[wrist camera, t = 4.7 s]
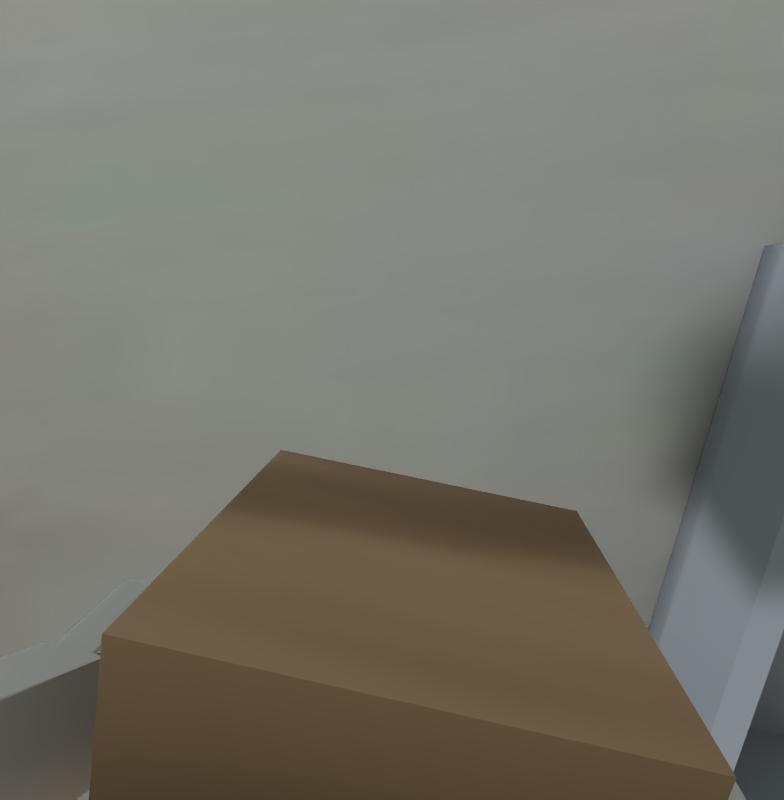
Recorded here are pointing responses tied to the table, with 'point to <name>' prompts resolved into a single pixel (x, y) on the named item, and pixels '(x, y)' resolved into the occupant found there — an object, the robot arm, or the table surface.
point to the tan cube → (391, 657)
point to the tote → (737, 555)
